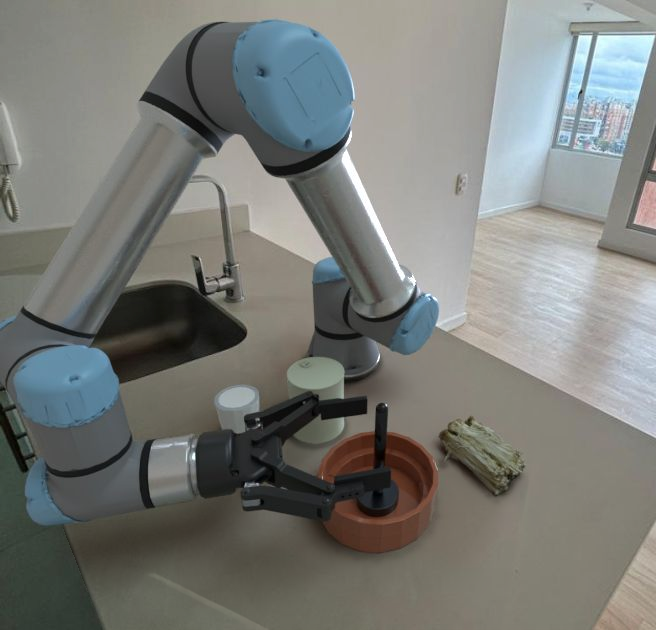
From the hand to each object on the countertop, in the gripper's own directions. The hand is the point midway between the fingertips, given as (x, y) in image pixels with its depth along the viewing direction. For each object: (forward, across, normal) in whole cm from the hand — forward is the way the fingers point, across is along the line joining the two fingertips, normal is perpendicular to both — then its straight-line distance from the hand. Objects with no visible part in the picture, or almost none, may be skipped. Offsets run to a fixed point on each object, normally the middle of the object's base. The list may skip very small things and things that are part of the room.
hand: (377, 437), depth 58 cm
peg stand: (0, 0, -12) cm, 12 cm away
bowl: (0, 0, -12) cm, 12 cm away
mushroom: (+18, -4, -13) cm, 23 cm away
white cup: (-18, -20, -13) cm, 30 cm away
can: (-6, -18, -13) cm, 23 cm away
